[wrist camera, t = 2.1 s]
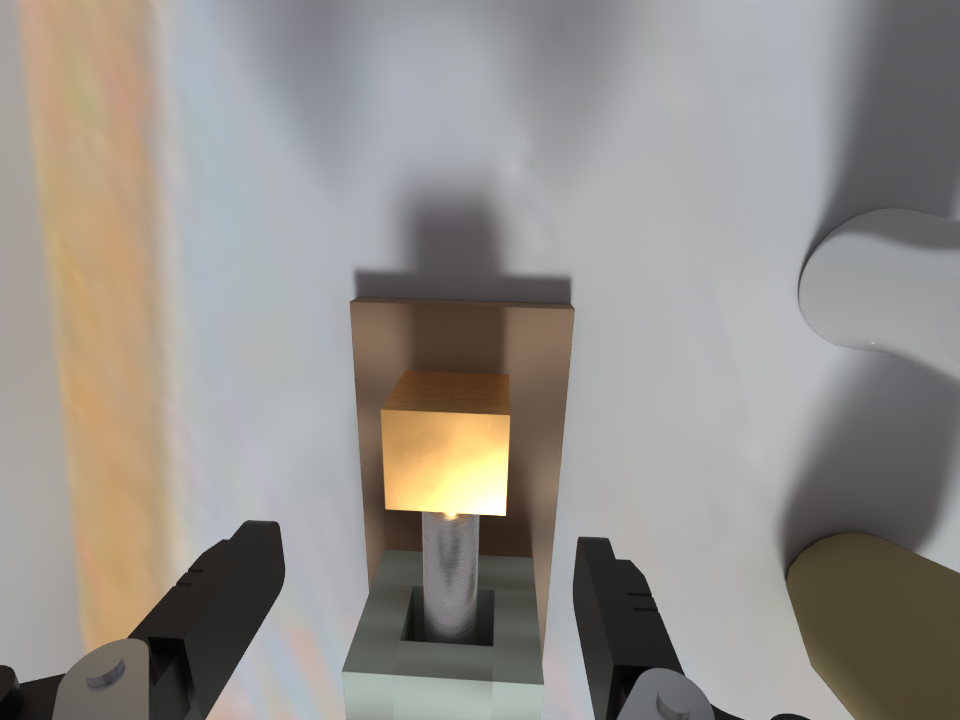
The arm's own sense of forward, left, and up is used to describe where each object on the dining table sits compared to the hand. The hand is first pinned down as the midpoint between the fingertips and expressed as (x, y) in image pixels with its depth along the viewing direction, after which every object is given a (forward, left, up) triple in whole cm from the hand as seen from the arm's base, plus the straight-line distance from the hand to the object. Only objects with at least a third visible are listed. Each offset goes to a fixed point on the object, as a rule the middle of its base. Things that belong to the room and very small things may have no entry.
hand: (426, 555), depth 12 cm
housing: (+6, 0, -11) cm, 13 cm away
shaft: (+9, 0, -8) cm, 12 cm away
